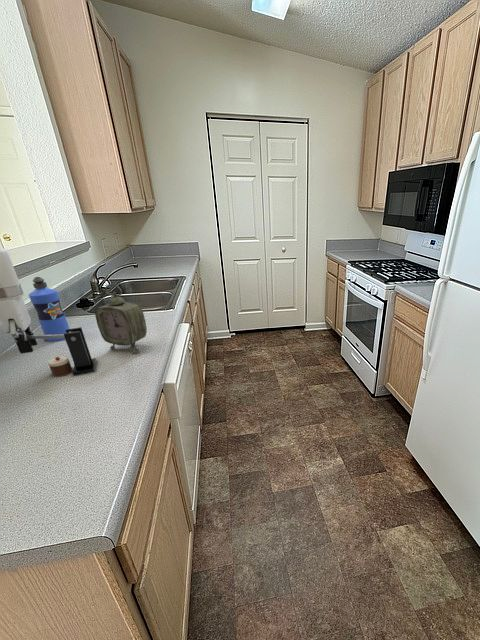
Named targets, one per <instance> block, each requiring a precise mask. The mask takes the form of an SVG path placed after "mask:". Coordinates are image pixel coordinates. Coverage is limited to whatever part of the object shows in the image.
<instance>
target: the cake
mask: <svg viewBox="0 0 480 640" xmlns="http://www.w3.org/2000/svg"><path fill="white" fill-rule="evenodd" d="M47 364H48V367H49V370H50V372H51V374H52V376H53V377H62V376H67V375H69V374H70V373H73V366H72V365H71V362H70V359H69V357H68V356H63V355H62V356H56V357H53V358H51V359H49V360H48V361H47Z"/></svg>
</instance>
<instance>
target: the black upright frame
mask: <svg viewBox="0 0 480 640" xmlns="http://www.w3.org/2000/svg"><path fill="white" fill-rule="evenodd" d="M69 331H77V332H70V333H69ZM64 337H65V339H64V340H65V342H66V345H67V347H68V350H69V353H70V356H71V359H72V361H73V364H74V367H73V369H72V375H73V376H79V375H80V376H81V375H84V374H91V373H94V372H96V371H95V370H96V365H97V358H96V357H95V358H93V357H92V355H91V351H90V349H89V345H88V343H87V340H86V337H85V334H84V332H83V328H82V326H80V327H79V326H78V327H74V328H73V327H72V328H70V329H66V333H64Z"/></svg>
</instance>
